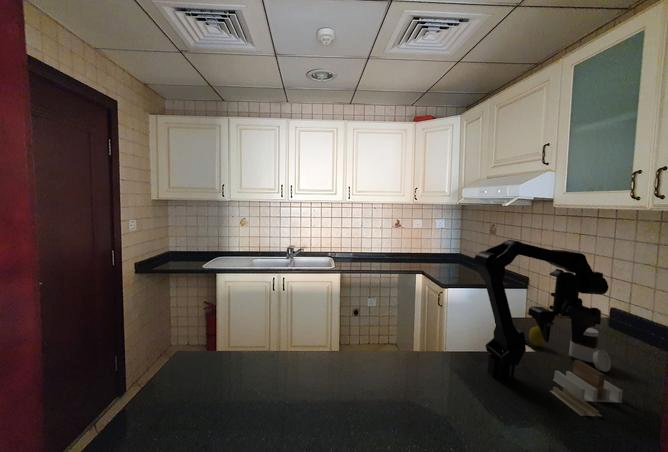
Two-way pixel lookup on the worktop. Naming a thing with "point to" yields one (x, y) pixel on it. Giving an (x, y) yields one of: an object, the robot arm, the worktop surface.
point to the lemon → (536, 336)
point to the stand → (575, 402)
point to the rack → (588, 388)
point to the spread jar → (590, 351)
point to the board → (589, 376)
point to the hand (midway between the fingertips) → (560, 342)
